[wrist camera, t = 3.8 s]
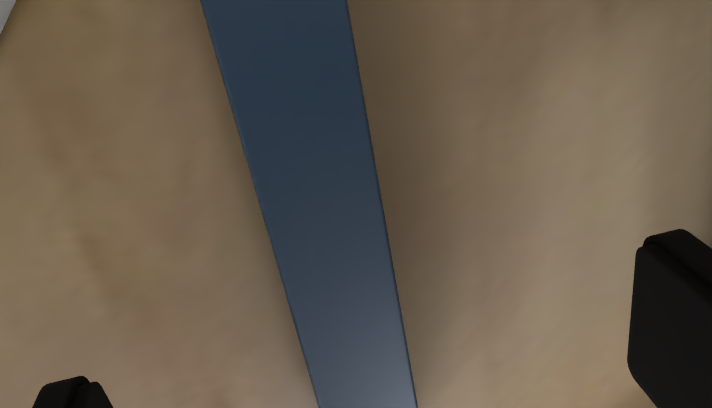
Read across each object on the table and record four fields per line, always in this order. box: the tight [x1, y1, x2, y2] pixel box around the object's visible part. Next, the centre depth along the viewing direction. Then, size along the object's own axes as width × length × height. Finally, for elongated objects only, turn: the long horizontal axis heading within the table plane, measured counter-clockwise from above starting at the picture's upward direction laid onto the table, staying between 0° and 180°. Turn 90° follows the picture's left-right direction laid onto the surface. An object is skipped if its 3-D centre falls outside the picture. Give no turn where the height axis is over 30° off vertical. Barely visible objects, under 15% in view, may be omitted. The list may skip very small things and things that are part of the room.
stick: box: [200, 0, 418, 408], centre depth 16 cm, size 3×22×3 cm, turn 10°
